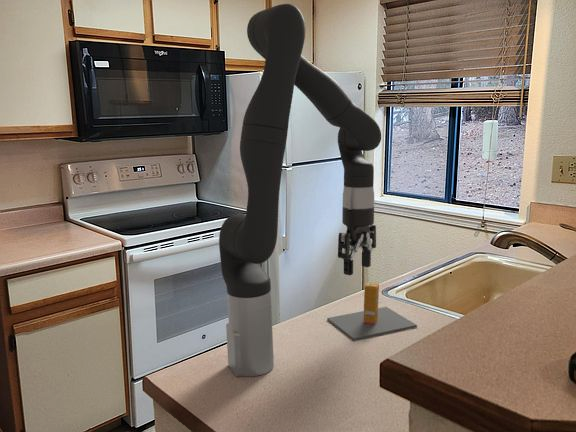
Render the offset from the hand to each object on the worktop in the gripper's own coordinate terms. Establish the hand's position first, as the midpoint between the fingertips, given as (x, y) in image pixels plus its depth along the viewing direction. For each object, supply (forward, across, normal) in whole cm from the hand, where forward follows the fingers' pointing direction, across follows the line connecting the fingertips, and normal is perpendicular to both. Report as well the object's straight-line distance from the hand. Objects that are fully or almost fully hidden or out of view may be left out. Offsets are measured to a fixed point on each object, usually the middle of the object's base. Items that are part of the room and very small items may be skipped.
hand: (357, 270), depth 129 cm
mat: (+15, -5, +1) cm, 16 cm away
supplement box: (+15, -5, +1) cm, 16 cm away
